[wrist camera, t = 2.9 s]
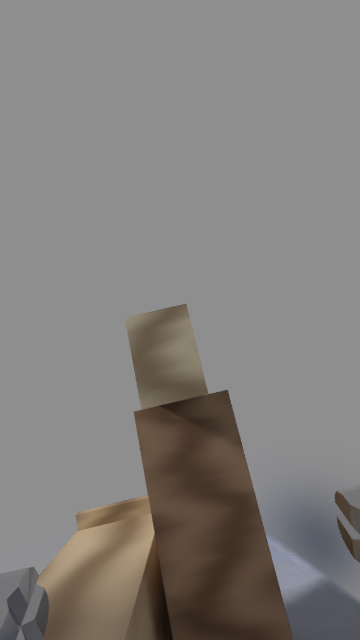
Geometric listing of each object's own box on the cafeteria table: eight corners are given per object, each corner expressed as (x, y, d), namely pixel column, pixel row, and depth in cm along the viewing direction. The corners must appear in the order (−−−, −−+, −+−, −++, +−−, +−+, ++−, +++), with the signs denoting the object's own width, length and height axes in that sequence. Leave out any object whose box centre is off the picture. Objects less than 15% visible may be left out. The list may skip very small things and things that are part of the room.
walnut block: (211, 925, 15) (127, 413, 22) (201, 651, 31) (154, 407, 38) (366, 883, 15) (233, 388, 22) (276, 632, 31) (216, 392, 38)
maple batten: (141, 409, 15) (124, 317, 16) (170, 403, 34) (161, 362, 35) (208, 393, 15) (186, 303, 16) (199, 396, 34) (189, 355, 35)
